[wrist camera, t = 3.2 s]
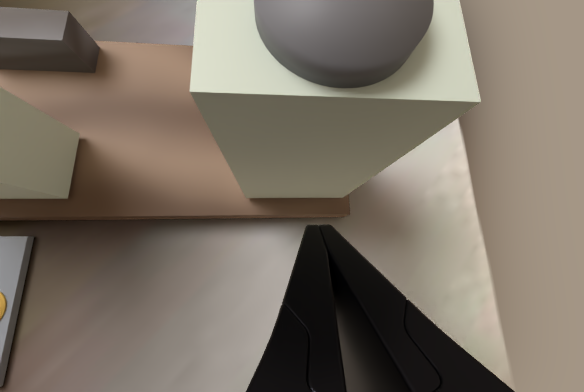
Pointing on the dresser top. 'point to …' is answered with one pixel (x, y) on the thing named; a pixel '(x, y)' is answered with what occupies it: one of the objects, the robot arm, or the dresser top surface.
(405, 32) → the button
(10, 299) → the card
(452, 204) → the dresser top surface
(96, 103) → the wooden base plate
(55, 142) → the button
